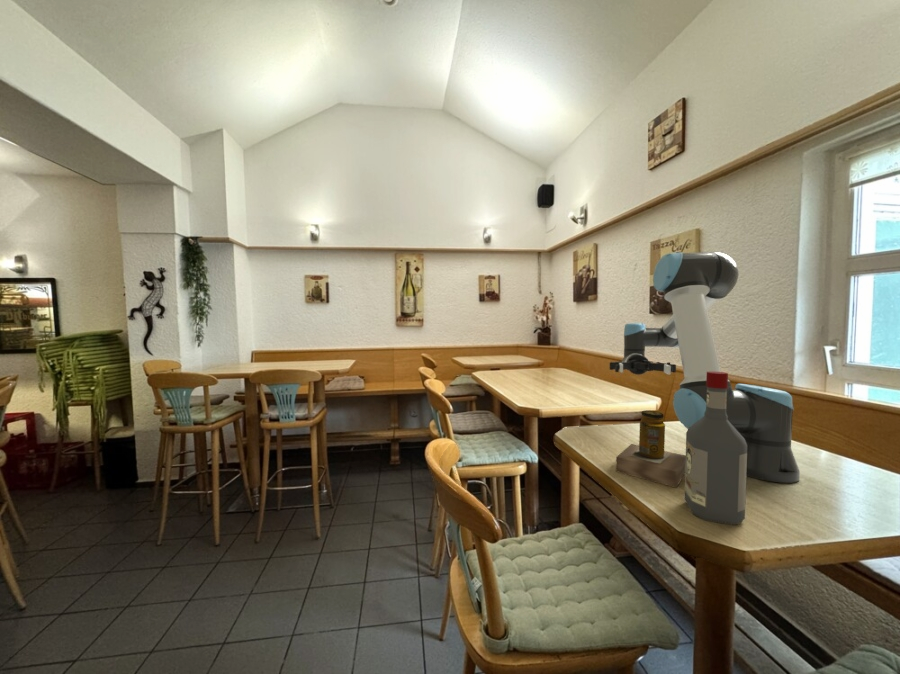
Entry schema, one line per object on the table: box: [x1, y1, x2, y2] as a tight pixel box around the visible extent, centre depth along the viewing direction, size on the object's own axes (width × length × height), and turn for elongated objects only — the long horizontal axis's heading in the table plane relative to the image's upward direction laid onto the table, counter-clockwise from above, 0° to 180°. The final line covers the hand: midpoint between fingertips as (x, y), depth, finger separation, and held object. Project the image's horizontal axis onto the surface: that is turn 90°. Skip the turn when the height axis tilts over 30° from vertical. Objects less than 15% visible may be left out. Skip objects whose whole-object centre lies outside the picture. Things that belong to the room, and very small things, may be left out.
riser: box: [615, 443, 686, 488], centre depth 96 cm, size 14×14×4 cm
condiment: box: [630, 410, 669, 464], centre depth 96 cm, size 7×8×12 cm
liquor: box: [684, 371, 747, 526], centre depth 74 cm, size 9×9×30 cm
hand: (645, 369), depth 114 cm, fingers open, 13 cm apart
